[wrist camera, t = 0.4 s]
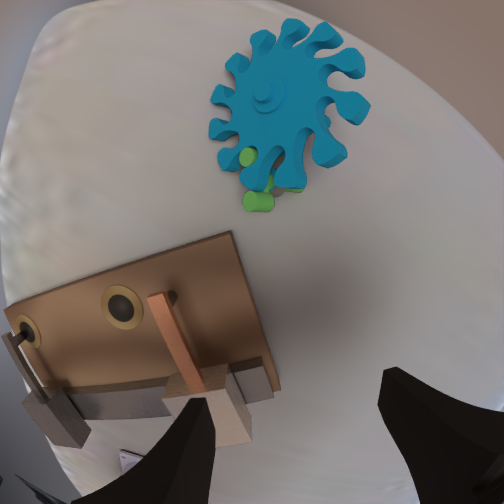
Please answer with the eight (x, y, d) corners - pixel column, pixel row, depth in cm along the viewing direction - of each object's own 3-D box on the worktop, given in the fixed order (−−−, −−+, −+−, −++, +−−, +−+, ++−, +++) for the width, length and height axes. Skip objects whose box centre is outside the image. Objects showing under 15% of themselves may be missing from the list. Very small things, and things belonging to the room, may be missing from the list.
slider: (251, 408, 19) (252, 442, 15) (201, 416, 19) (195, 449, 16) (196, 272, 16) (184, 294, 13) (137, 289, 17) (115, 312, 13)
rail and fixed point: (276, 397, 19) (282, 435, 15) (70, 419, 20) (54, 444, 16) (229, 260, 17) (224, 282, 13) (12, 324, 18) (-14, 343, 14)
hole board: (278, 378, 21) (281, 392, 19) (69, 406, 22) (63, 416, 20) (231, 230, 18) (229, 234, 16) (12, 303, 19) (1, 310, 17)
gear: (225, 24, 13) (375, 7, 7) (284, 57, 18) (412, 67, 12) (181, 183, 17) (312, 247, 11) (247, 189, 21) (365, 241, 15)
